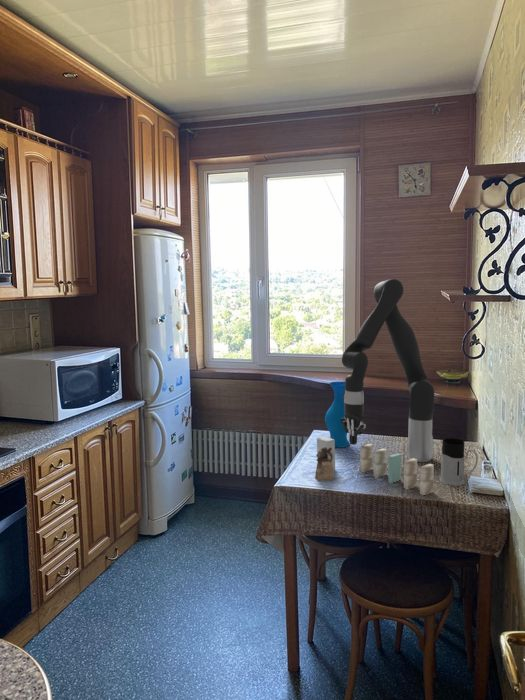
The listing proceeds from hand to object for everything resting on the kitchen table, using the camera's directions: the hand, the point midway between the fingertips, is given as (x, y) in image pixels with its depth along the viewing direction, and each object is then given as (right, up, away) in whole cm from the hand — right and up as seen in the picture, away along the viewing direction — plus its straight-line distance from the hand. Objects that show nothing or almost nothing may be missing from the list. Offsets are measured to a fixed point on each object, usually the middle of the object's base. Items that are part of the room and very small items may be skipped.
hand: (353, 444), depth 209 cm
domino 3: (+12, -11, -16) cm, 23 cm away
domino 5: (+21, -12, -27) cm, 36 cm away
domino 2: (+8, -10, -10) cm, 17 cm away
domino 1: (+4, -9, -5) cm, 11 cm away
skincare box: (-11, -9, -2) cm, 15 cm away
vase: (-2, -5, +28) cm, 28 cm away
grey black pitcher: (+35, -11, -18) cm, 41 cm away
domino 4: (+16, -12, -22) cm, 29 cm away
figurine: (-13, -11, -12) cm, 20 cm away
